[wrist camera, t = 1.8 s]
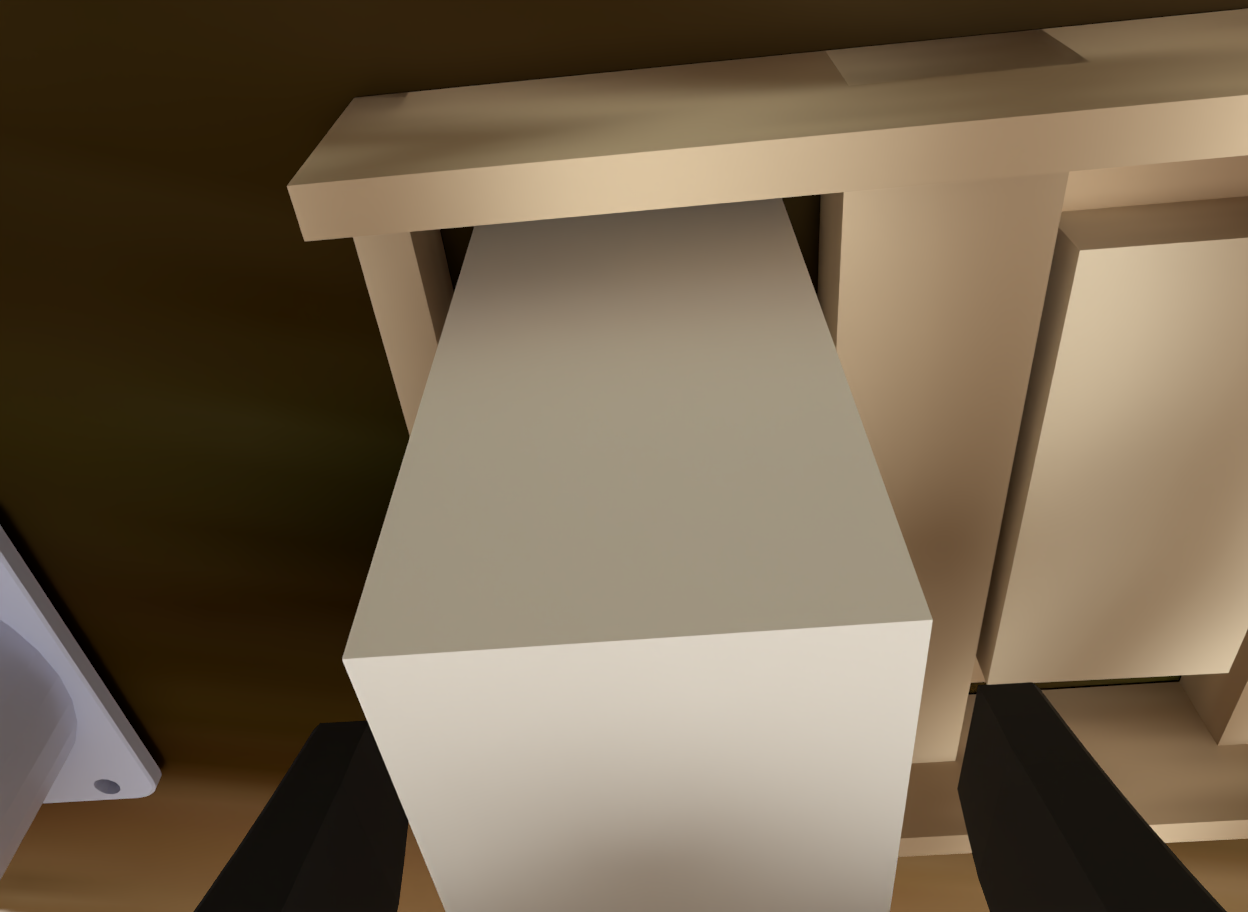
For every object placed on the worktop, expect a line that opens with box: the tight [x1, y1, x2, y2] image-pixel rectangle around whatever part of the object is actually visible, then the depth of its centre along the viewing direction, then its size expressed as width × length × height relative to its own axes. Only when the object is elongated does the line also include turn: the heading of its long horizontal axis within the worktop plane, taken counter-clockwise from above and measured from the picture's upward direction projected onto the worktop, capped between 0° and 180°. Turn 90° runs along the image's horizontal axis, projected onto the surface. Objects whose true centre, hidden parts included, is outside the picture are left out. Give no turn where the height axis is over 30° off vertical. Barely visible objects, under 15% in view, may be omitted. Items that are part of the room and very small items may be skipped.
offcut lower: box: [971, 155, 1248, 683], centre depth 15 cm, size 4×10×1 cm, turn 5°
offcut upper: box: [976, 196, 1248, 685], centre depth 14 cm, size 4×8×1 cm, turn 5°
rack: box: [287, 9, 1248, 857], centre depth 14 cm, size 14×13×3 cm
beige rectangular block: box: [342, 198, 933, 912], centre depth 13 cm, size 4×10×8 cm, turn 5°
